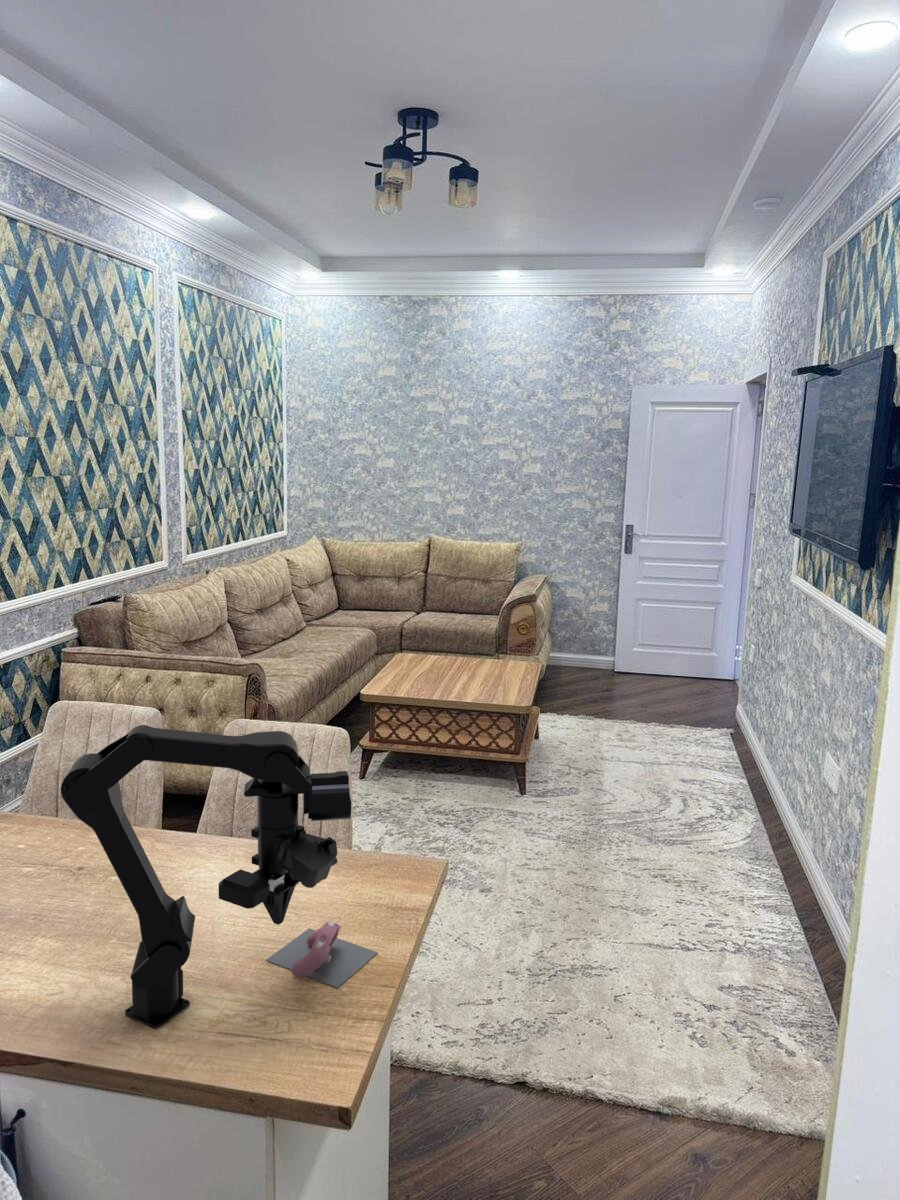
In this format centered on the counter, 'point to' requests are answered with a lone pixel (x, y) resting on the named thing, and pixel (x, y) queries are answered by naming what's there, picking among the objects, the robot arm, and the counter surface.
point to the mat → (334, 972)
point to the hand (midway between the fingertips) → (278, 923)
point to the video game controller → (317, 950)
